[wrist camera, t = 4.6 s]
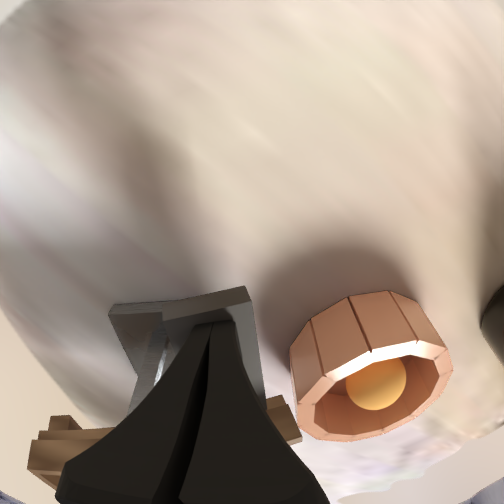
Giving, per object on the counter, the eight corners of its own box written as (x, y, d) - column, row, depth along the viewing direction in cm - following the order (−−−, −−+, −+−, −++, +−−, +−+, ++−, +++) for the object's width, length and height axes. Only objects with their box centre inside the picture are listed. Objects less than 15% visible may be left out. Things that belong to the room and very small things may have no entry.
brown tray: (91, 460, 17) (91, 512, 13) (-22, 320, 10) (-57, 385, 6) (279, 430, 19) (300, 484, 15) (260, 260, 13) (302, 331, 9)
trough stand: (167, 414, 23) (154, 490, 17) (113, 304, 18) (67, 399, 11) (236, 413, 23) (235, 494, 17) (206, 297, 18) (188, 407, 11)
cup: (370, 400, 23) (384, 443, 19) (265, 380, 21) (268, 433, 17) (448, 314, 19) (477, 357, 15) (341, 270, 17) (365, 323, 13)
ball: (346, 419, 18) (372, 380, 21) (398, 424, 15) (420, 379, 18) (324, 378, 18) (354, 339, 20) (380, 378, 15) (405, 334, 17)
